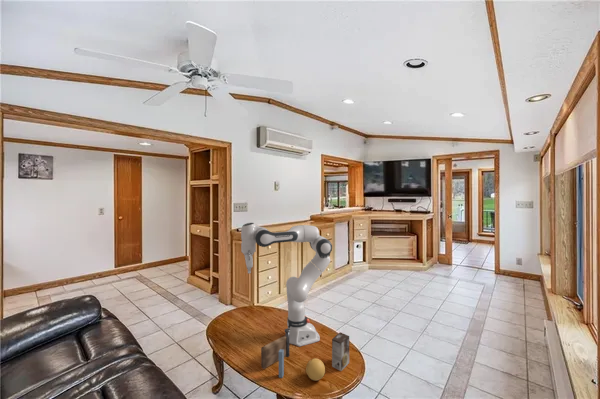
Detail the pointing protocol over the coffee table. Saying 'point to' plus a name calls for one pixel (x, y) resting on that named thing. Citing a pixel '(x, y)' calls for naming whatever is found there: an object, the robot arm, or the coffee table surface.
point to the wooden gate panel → (272, 352)
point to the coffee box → (340, 351)
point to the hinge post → (287, 341)
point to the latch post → (281, 363)
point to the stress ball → (315, 369)
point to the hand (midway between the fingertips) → (248, 270)
